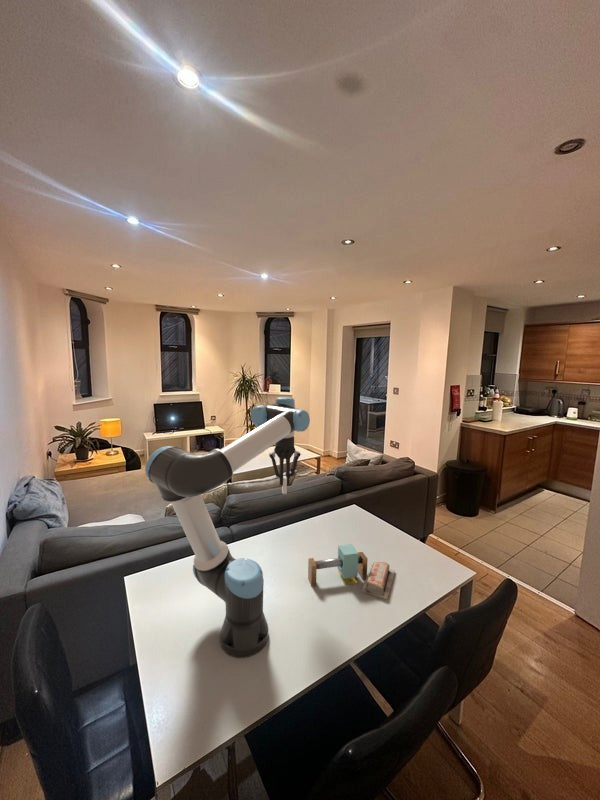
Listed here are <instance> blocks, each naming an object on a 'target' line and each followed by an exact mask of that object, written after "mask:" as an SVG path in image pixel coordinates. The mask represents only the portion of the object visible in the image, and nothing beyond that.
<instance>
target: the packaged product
mask: <svg viewBox="0 0 600 800" xmlns="http://www.w3.org/2000/svg"><path fill="white" fill-rule="evenodd" d="M394 576H395V569H392V568H390V564H389V563H388V562H385V561H382V562H381V561H374V562H373V563H372V564H371V565H370V567H369V570H368V571H367V577H366V579H364V580H365V581H364V583H363V586H362V589H361V592H362V593H364V594H368V595H370V596H374V597H377V598H380V599H382V600H383V599H384V600H388V599H389V598H388V597H389V594H390V591H391V587H392V584H393V580H394Z"/></svg>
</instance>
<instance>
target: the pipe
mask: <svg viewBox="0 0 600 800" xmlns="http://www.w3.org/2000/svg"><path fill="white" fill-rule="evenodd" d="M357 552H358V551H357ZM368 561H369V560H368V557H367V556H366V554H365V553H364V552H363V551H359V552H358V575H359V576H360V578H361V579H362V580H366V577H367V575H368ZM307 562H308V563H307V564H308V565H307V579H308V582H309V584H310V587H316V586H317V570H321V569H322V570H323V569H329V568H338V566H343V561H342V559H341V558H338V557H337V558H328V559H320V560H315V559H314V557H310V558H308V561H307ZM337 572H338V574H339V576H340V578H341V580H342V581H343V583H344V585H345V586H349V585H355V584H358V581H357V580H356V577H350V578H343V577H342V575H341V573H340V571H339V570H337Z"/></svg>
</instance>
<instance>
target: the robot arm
mask: <svg viewBox="0 0 600 800" xmlns="http://www.w3.org/2000/svg"><path fill="white" fill-rule="evenodd" d="M295 401H296V400H295V399H294V398H293V397H289V396H278V397H276V398H275V403H272V404H260V405H256V406H254V407H253V408H252V409H251V411H250V419H251V422H252V424H254V426H257V427H256V428H254V429H253V430H251V431H249V432H247V433H245V434H244V435H242V436H240V437H239V438H237V439H236V440H234V441H232V442H230V443H229V444H227V445H225V446H223V447H222V448H220V449H219V448H214V449H211V450H209V451H208V452H205V453H200V454H199V453H198V454H197V453H194V452H191V451H188V450H184V449H181V447H178V446H172V445H167V446H162V447H160V448H158V449H156V450H154V451H153V452H152V453H151V454H150V455H149V457H148V459H147V462H146V463H145V465H144V472H145V476H146V478H147V479H148V480H149V482H151V483H153V484H155V485H156V487H157V489H158V491H159V494H160V496H161V499H162V500H163V501H164V502H166V503H170V504H171V505H172V509H173V510H174V513H175V514H176V517H177V519H178V521H179V523H180V525H181V528H182V530H183V532H184V534H185V536H186V538H187V540H188V542H189V545H190V547H191V549H192V551H193V553H194V557H193V564H192V573H193V575H194V577H195V579H196V581H197V582H198V583H199V584H201V585H202V586H203V587H205V588H207V589H209V591H211V592H212V593H213V594H214V595H216V596H217V598H219V599H221V600H222V601H223V602H224V603H225V618H224V620H223V623H222V626H221V629H220V634H219V643H220V646H221V649H222V650H223V651H224V652H225V653H226V654H227V655H229V656H231V657H234V658H247V657H251V656H254V655H256V654H257V653H259V652H260V651H262V649H264V647H265V646H266V644H267V642H268V639H269V624H268V622H267V619H266V616H265V613H264V574H263V573H264V572H263V569H262V567H261V566H260V564H259V563H258V562H256V561H255V560H253V559H250V558H247V559H245V558H237V559H236V558H235V557H233V555H232V554H231V550H230V549H229V546H228V545H227V543H226V542H224V541H223V540H221V539H220V536H219V535H218V533H217V530H216V528H215V525H214V523H213V520H212V518H211V516H210V513H209V511H208V509H207V506H206V503H205V501H204V499H203V496H202V495H204V494H206V493H208V492H210V491H211V492H212V491H213V490H215V489H217V488H218V487H220V486H221V485H223V484H225V483H227V482H228V481H229V480H230V479H232V478H233V477H234V473H235V472H236V471H237V470H239V469H241V468H242V467H244V466H245V465H246V464H248V463H249V462H251V461H253V460H254V459H255V458H256V457H258V456H259V455H261V454H262V453H264V452H265V451H266V450H268V449H269V448H271V447H272V446H274V445H275V446H274V449H273V451H272V452H269V453H268V456H269V458H270V459H271V462H272V466H273V470H274V471H273V472H274V474H275V477H276V478H279V485H280V486H281V492H282V495H287V491H288V487H287V486H290V478H291V477H293V476H295V472H296V469H297V464H298V461H299V458H300V456H301V452H300V451H297V450H296V448H295V437H294V436H295V432H298V433H299V432H300V433H301V432H305V431H307V429H308V428H309V426H310V422H311V418H310V413H308V412H307V410H305V409H300V408H296V404H295ZM276 456H277V457H278V458H279V467H278V466H277V465H278V464H277V461H276V459H275V458H276ZM292 457H293V460H292V464H291V463H290V462H291V458H292ZM284 462H285V475H284ZM290 466H291V467H290ZM278 469H279V470H278Z"/></svg>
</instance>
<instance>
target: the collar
mask: <svg viewBox="0 0 600 800" xmlns="http://www.w3.org/2000/svg"><path fill="white" fill-rule="evenodd" d="M337 547H338V548H337V549H338V550H337V558H341V559H342V561H343V566H338V567H337V569H338V570H339V571H340V573H341V575H342V577H343V578H350V577H354V578H357V577H358V575H359V573H358V551H357V549H356V548H355V546H354V545H353V544H351V543H350V544H342V545H338V546H337ZM338 570H337V571H338Z"/></svg>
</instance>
